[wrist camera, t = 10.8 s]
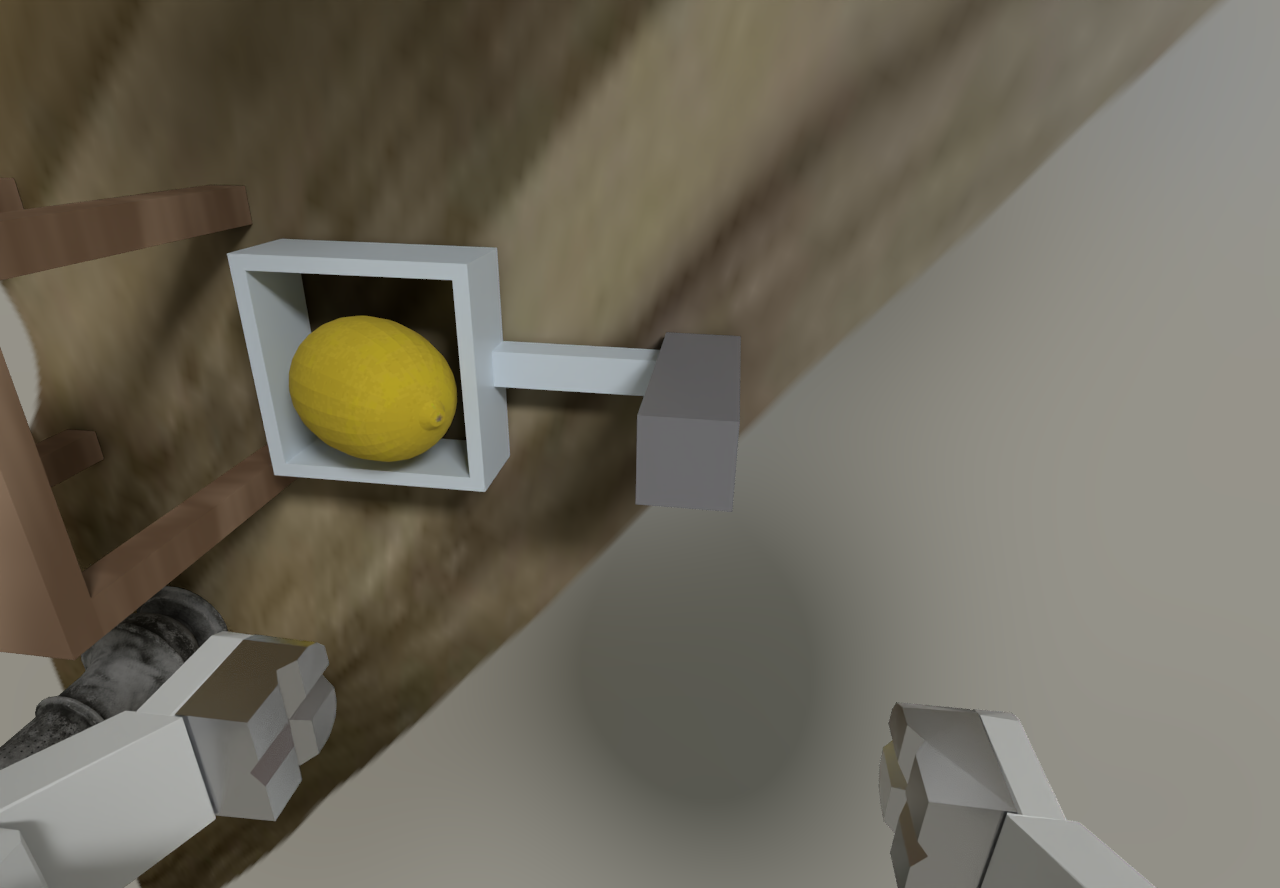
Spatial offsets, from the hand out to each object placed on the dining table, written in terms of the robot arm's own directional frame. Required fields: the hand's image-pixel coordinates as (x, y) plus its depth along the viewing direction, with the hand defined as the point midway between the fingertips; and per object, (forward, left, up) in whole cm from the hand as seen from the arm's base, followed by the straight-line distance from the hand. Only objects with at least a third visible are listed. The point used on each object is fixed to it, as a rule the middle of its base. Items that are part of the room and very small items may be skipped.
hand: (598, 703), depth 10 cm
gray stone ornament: (-3, -33, -21) cm, 39 cm away
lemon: (-9, -14, -20) cm, 25 cm away
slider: (-3, -7, -21) cm, 22 cm away
